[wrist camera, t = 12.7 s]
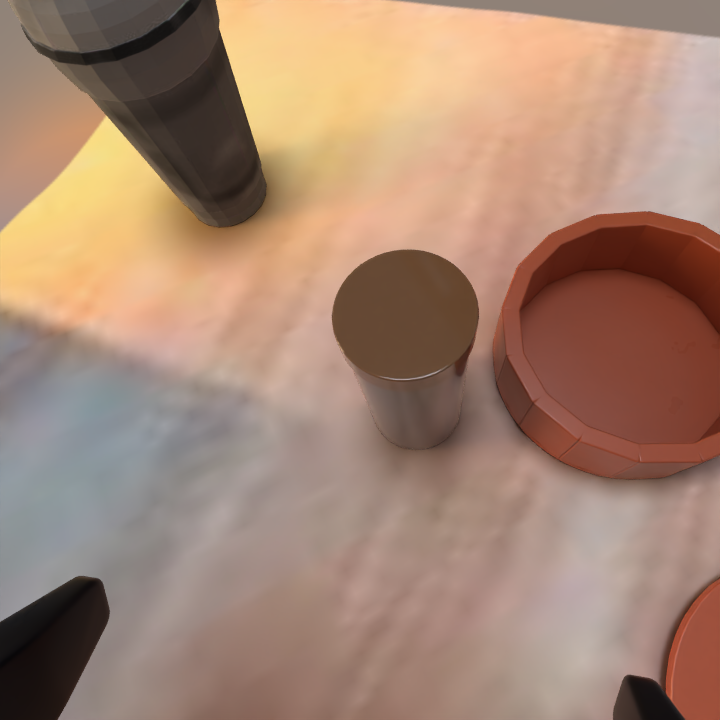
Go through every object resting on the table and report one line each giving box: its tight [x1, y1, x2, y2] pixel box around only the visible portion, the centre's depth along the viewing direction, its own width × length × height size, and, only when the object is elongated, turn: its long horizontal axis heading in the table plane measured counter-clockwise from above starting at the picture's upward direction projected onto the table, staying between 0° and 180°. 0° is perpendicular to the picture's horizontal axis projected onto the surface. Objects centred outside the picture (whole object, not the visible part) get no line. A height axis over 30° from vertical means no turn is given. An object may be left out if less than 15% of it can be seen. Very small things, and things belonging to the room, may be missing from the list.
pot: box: [493, 211, 720, 480], centre depth 22 cm, size 10×10×4 cm
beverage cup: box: [8, 0, 266, 227], centre depth 21 cm, size 7×7×20 cm
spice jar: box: [332, 250, 479, 450], centre depth 20 cm, size 4×4×10 cm
